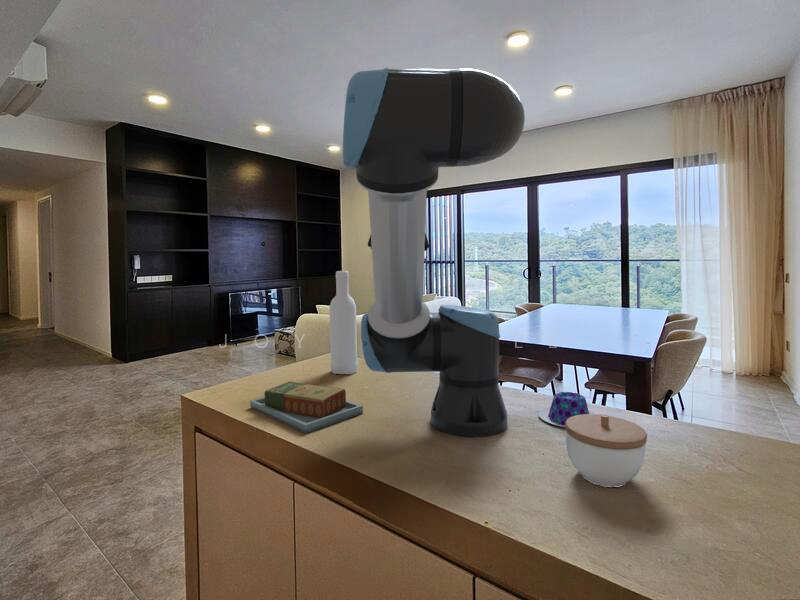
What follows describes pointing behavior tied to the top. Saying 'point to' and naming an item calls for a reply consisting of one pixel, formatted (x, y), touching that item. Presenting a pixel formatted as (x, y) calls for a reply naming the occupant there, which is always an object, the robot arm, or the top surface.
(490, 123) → the robot arm
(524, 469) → the top surface
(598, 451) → the lidded jar
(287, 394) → the carton
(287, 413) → the tray
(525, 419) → the top surface
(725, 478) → the top surface
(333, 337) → the bottle
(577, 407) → the pudding
